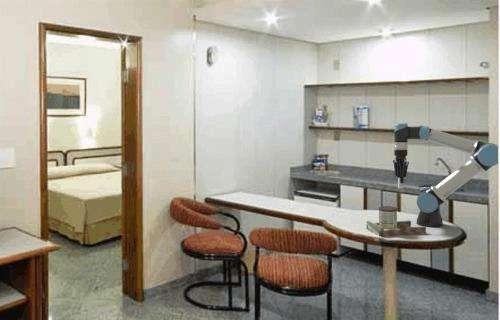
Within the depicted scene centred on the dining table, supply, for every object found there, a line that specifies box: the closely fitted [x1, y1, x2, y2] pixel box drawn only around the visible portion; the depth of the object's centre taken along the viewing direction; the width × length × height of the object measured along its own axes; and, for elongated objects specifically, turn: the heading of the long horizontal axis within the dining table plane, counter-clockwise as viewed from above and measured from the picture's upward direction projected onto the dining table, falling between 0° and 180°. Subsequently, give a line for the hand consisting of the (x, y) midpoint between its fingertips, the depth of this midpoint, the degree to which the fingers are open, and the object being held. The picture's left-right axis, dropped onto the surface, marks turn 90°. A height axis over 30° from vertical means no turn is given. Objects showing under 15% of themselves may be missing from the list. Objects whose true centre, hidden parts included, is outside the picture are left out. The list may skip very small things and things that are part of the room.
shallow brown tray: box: [366, 220, 427, 237], centre depth 269 cm, size 28×18×5 cm, turn 102°
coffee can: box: [378, 205, 398, 229], centre depth 268 cm, size 10×10×14 cm
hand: (400, 188), depth 279 cm, fingers closed
